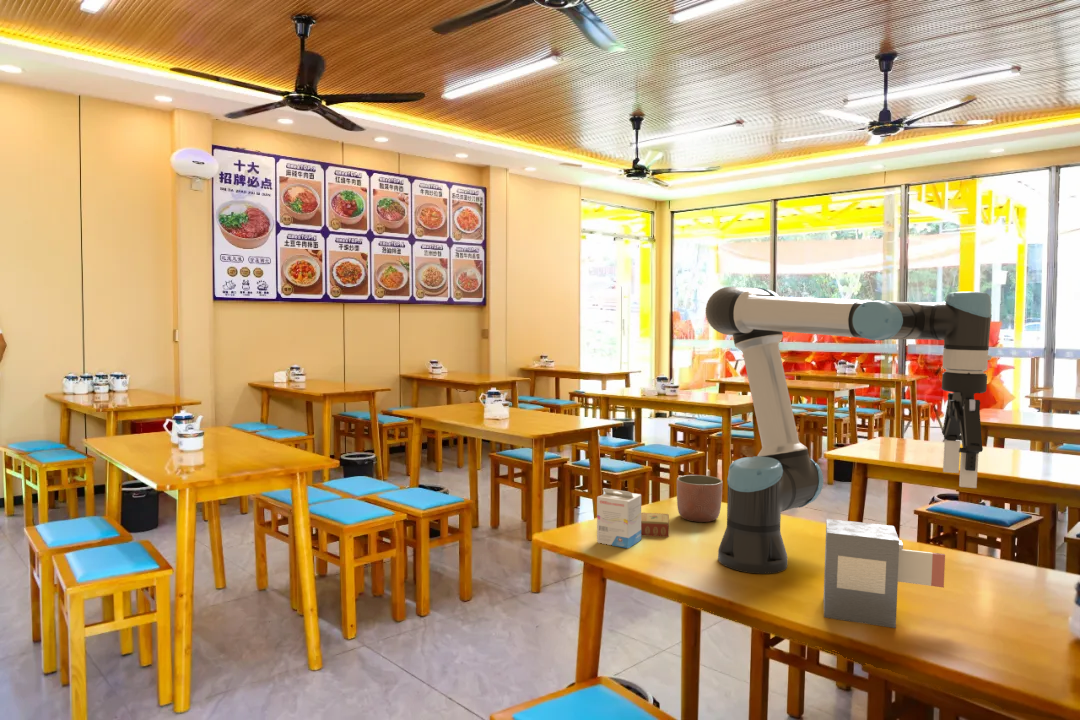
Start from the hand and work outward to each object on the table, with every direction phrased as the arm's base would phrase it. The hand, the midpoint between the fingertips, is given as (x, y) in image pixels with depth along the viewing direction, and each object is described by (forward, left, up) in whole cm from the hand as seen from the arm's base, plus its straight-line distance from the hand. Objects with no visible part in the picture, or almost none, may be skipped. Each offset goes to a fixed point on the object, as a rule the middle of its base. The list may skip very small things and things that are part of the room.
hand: (958, 479), depth 140 cm
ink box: (-71, +10, -25) cm, 76 cm away
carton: (-69, +21, -25) cm, 76 cm away
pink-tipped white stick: (-13, -14, -17) cm, 26 cm away
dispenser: (-18, -14, -24) cm, 33 cm away
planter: (-56, +39, -25) cm, 73 cm away
